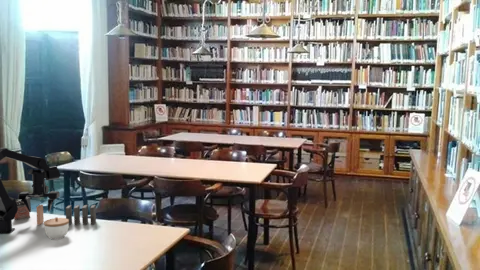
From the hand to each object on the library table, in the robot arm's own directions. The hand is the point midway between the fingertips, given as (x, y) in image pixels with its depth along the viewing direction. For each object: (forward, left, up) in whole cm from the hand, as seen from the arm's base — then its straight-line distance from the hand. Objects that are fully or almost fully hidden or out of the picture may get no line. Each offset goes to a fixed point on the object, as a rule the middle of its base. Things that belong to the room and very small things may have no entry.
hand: (39, 211), depth 230 cm
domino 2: (-3, -15, -6) cm, 16 cm away
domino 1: (0, 0, -6) cm, 6 cm away
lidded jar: (-24, -15, -6) cm, 29 cm away
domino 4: (-3, -23, -6) cm, 24 cm away
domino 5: (-3, -27, -6) cm, 28 cm away
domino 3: (-3, -19, -6) cm, 20 cm away
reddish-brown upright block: (+9, +12, -6) cm, 16 cm away
